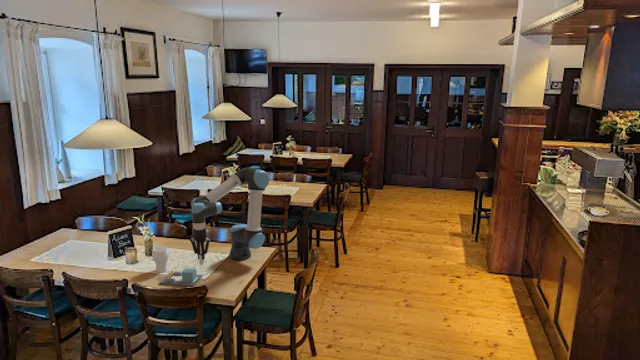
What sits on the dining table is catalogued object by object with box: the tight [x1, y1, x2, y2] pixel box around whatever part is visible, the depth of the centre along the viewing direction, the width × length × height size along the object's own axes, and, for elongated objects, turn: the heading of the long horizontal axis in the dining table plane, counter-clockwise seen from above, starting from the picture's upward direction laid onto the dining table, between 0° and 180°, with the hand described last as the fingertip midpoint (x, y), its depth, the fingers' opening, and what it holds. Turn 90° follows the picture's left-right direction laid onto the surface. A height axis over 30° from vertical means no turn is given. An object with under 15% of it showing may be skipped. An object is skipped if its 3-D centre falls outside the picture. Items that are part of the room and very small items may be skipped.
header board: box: [158, 269, 203, 288], centre depth 281 cm, size 22×14×5 cm, turn 82°
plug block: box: [181, 267, 198, 282], centre depth 279 cm, size 7×6×6 cm
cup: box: [151, 245, 170, 274], centre depth 294 cm, size 11×11×15 cm
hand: (201, 264), depth 276 cm, fingers closed
